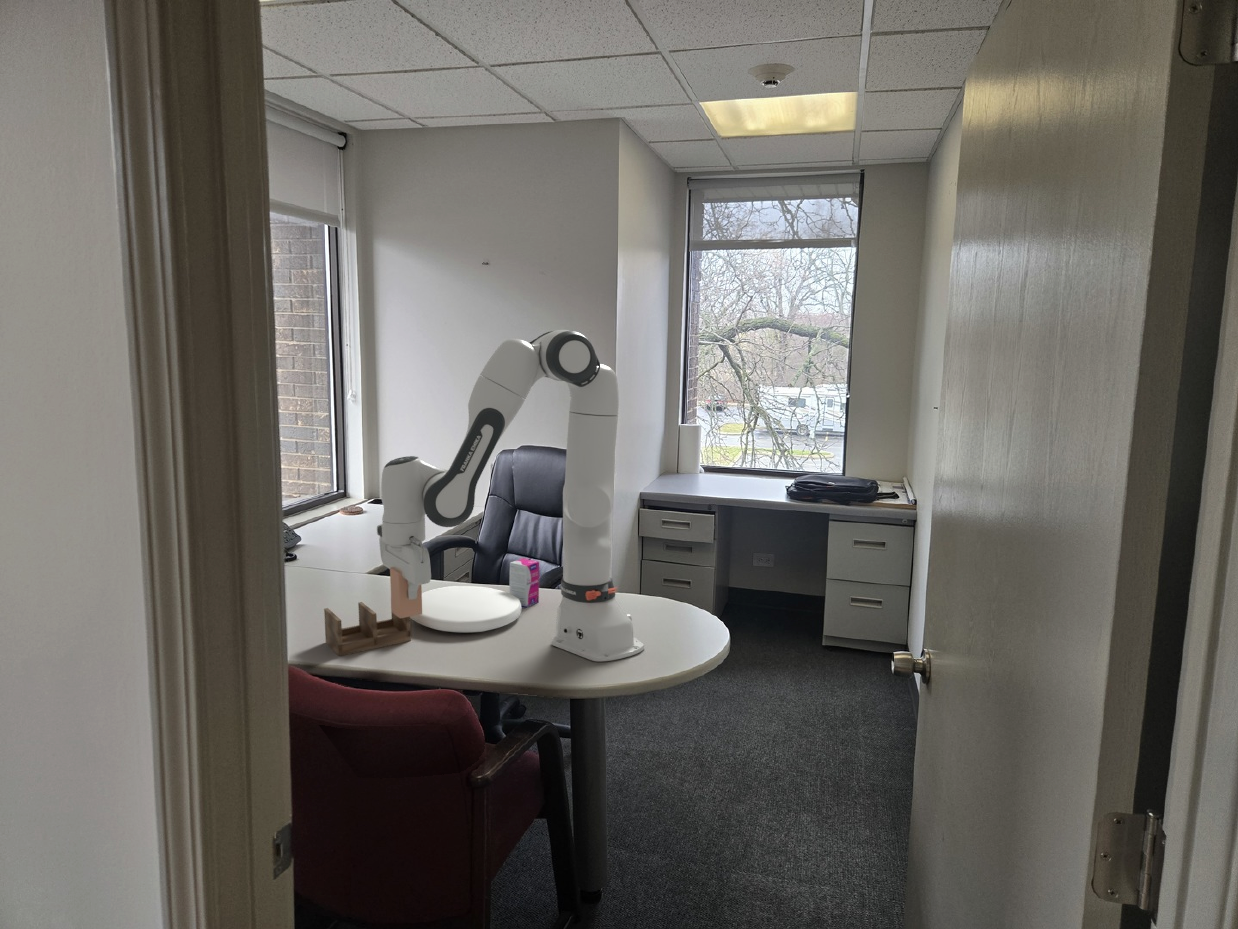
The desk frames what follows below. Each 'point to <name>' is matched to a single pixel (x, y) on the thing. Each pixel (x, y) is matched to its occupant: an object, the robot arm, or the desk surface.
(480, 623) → the plate
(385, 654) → the desk surface
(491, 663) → the desk surface
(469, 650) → the desk surface
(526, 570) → the supplement box
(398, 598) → the terracotta block
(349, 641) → the desk organiser
